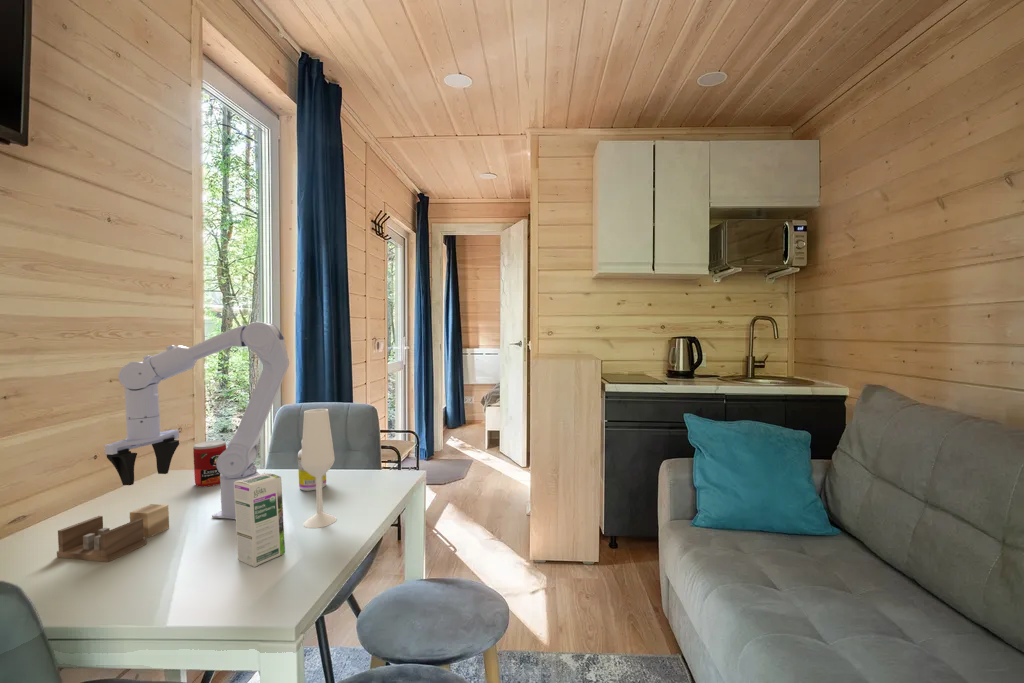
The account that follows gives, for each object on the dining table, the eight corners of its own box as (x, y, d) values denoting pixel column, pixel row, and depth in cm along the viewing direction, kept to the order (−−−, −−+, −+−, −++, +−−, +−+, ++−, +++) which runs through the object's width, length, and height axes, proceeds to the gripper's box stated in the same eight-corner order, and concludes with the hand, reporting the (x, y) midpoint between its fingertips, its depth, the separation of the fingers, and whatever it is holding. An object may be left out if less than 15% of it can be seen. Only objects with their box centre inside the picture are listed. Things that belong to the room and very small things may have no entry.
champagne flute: (340, 522, 98) (336, 410, 98) (305, 530, 94) (301, 414, 94) (333, 512, 104) (329, 406, 103) (300, 520, 100) (296, 410, 100)
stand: (146, 544, 90) (145, 519, 90) (108, 561, 83) (106, 534, 83) (97, 540, 93) (96, 515, 93) (56, 557, 86) (55, 530, 86)
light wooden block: (169, 528, 98) (168, 505, 98) (148, 537, 93) (147, 513, 93) (152, 527, 99) (151, 504, 99) (130, 536, 94) (129, 512, 94)
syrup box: (254, 568, 80) (251, 485, 79) (236, 560, 83) (233, 479, 82) (285, 554, 84) (282, 475, 84) (267, 547, 88) (264, 471, 87)
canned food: (201, 489, 123) (199, 448, 123) (190, 483, 128) (188, 444, 128) (232, 481, 129) (230, 442, 129) (220, 476, 134) (219, 439, 134)
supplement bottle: (317, 481, 127) (315, 435, 126) (331, 485, 123) (329, 438, 122) (294, 488, 121) (292, 440, 121) (307, 493, 117) (306, 443, 117)
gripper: (160, 410, 108) (163, 468, 108) (91, 423, 94) (95, 489, 94) (185, 411, 106) (188, 469, 107) (118, 423, 92) (122, 490, 92)
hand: (146, 478), depth 100 cm, fingers open, 7 cm apart
